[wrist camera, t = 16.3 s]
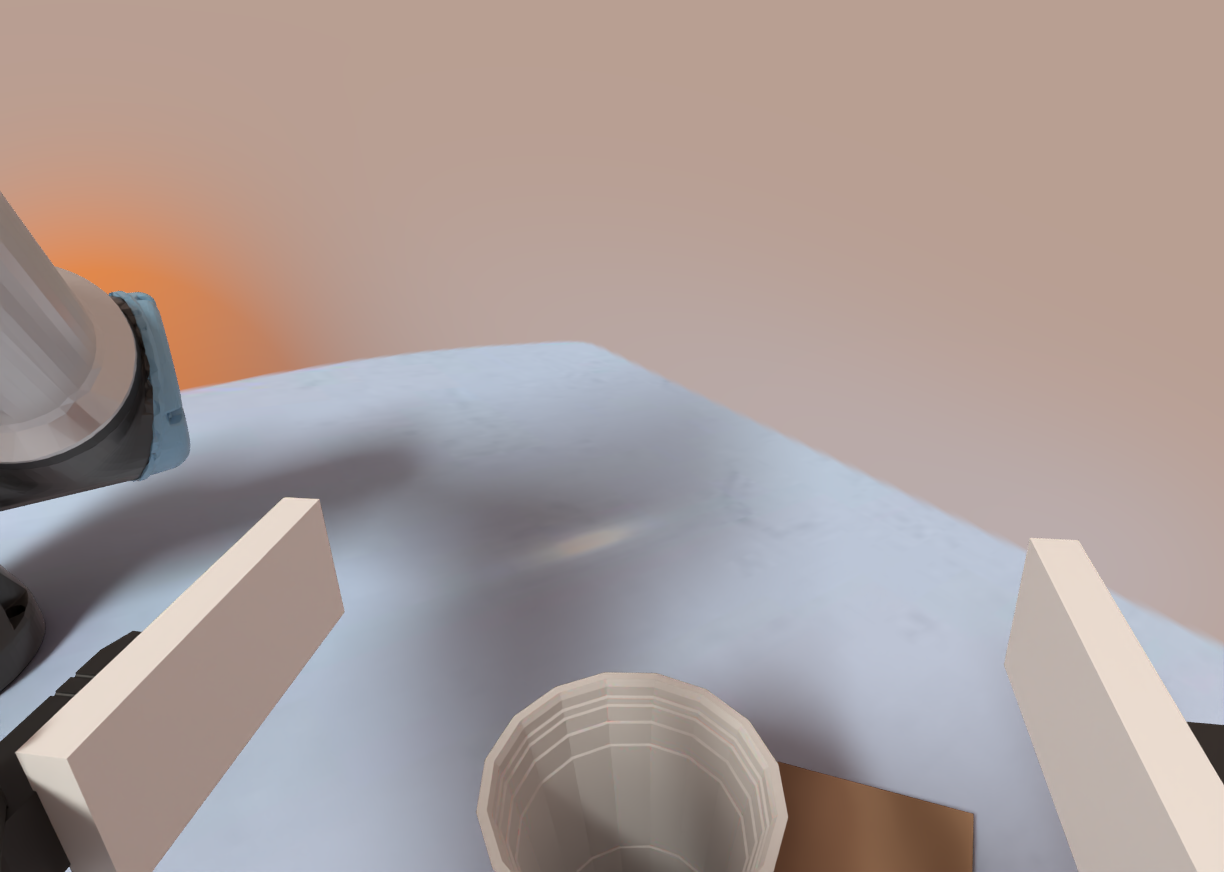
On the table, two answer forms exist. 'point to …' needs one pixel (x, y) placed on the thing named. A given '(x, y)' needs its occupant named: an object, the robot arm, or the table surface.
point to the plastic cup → (631, 783)
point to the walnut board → (867, 829)
